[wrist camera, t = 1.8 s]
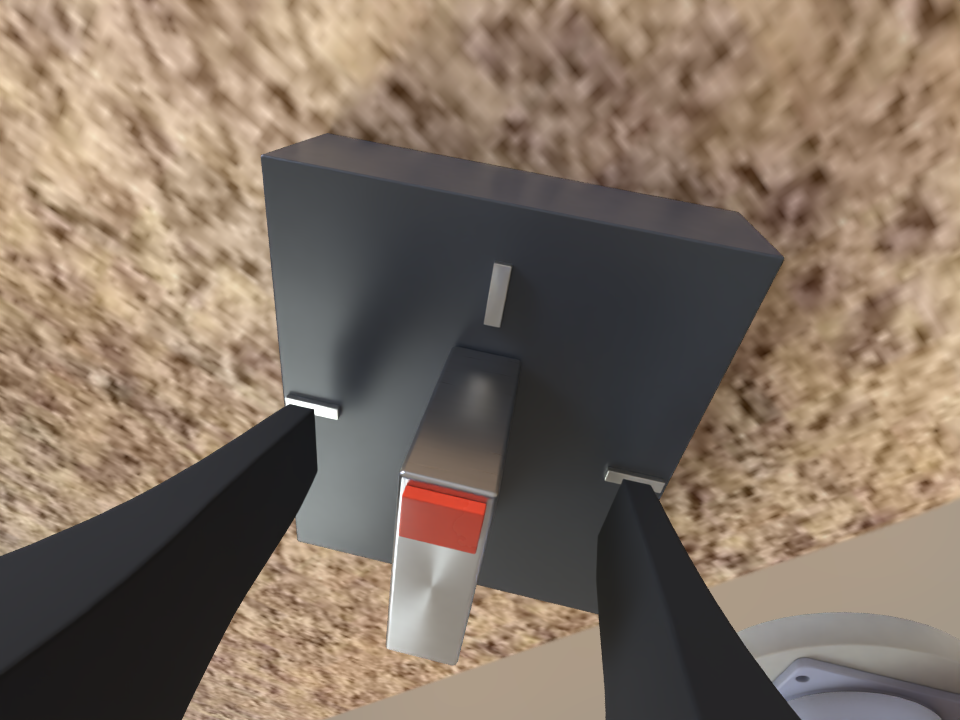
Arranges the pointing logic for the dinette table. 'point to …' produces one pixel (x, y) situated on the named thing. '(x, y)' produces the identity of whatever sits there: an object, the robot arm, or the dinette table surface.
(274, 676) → the dinette table surface
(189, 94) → the dinette table surface
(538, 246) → the block
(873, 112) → the dinette table surface
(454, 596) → the tap handle
